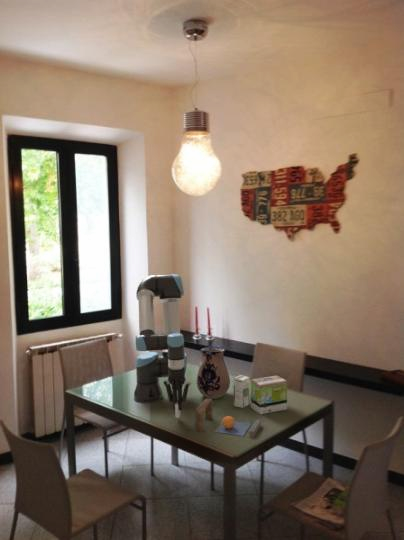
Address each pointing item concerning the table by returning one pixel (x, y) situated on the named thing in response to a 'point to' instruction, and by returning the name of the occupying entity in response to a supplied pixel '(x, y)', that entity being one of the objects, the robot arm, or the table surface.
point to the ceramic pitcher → (213, 373)
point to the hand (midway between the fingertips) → (178, 416)
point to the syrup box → (241, 391)
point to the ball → (228, 422)
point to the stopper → (255, 428)
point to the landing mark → (234, 429)
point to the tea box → (268, 394)
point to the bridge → (199, 410)
